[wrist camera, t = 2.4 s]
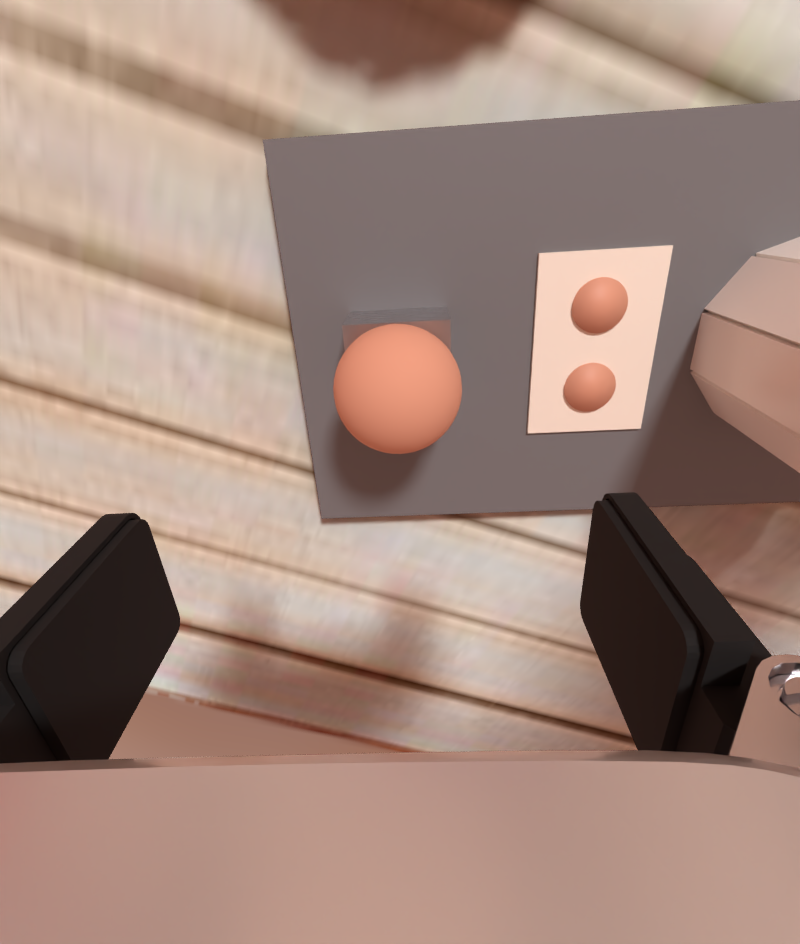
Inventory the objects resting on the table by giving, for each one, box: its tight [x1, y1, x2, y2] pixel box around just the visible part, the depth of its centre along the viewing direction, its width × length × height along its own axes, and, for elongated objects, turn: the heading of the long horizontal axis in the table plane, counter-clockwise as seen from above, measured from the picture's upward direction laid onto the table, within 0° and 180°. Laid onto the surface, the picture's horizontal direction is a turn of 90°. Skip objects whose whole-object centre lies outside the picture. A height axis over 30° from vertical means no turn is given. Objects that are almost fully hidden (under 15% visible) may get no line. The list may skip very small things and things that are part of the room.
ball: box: [333, 324, 462, 454], centre depth 20 cm, size 5×5×5 cm
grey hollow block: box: [342, 306, 451, 352], centre depth 23 cm, size 4×4×3 cm
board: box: [263, 100, 800, 519], centre depth 24 cm, size 28×18×2 cm, turn 93°
